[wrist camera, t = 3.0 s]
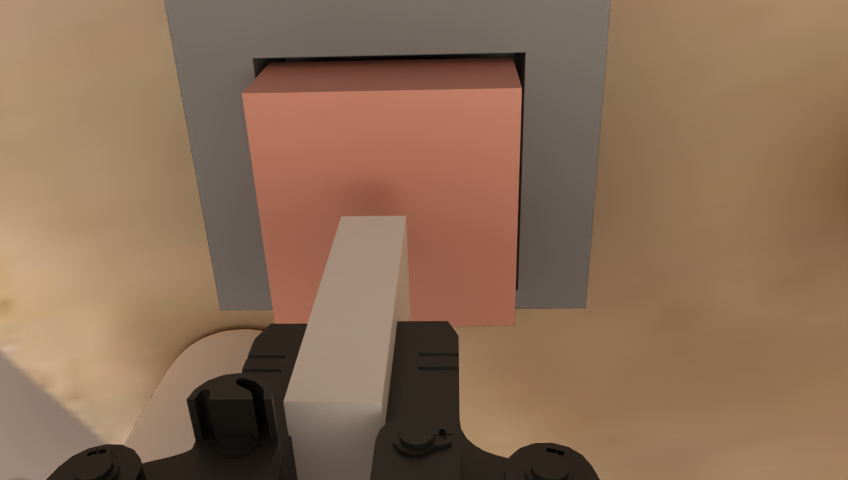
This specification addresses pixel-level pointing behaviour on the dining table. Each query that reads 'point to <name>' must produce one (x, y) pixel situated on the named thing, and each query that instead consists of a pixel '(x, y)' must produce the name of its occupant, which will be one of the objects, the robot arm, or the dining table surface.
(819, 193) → the dining table surface
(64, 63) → the dining table surface
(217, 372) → the pill bottle
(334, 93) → the pink flat square block
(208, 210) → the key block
